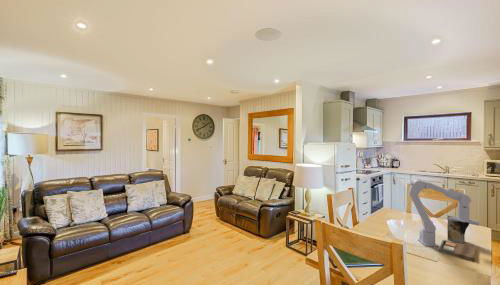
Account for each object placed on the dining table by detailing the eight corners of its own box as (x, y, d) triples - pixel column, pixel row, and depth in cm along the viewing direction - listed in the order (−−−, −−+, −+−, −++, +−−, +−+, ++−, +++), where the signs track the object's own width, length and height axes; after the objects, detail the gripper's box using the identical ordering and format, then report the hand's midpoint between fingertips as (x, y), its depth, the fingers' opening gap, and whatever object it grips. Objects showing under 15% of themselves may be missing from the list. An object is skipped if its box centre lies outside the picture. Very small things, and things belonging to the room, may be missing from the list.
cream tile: (443, 250, 153) (443, 247, 152) (444, 248, 156) (444, 245, 156) (453, 253, 149) (453, 250, 149) (454, 250, 153) (454, 247, 153)
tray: (439, 251, 152) (439, 248, 152) (442, 242, 165) (442, 239, 165) (454, 255, 147) (454, 252, 147) (456, 246, 160) (456, 243, 160)
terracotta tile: (445, 246, 158) (445, 243, 158) (446, 244, 162) (446, 241, 162) (455, 248, 155) (455, 246, 155) (455, 246, 158) (456, 243, 158)
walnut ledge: (454, 256, 146) (454, 252, 146) (456, 245, 161) (456, 242, 161) (474, 261, 140) (474, 258, 140) (475, 249, 154) (475, 246, 154)
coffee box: (464, 240, 168) (465, 218, 167) (464, 243, 163) (464, 220, 163) (447, 237, 174) (448, 215, 174) (447, 240, 169) (447, 217, 169)
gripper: (448, 211, 156) (448, 232, 157) (478, 216, 146) (478, 238, 146) (449, 209, 161) (449, 229, 162) (479, 213, 151) (479, 235, 152)
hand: (463, 233), depth 154 cm, fingers closed
